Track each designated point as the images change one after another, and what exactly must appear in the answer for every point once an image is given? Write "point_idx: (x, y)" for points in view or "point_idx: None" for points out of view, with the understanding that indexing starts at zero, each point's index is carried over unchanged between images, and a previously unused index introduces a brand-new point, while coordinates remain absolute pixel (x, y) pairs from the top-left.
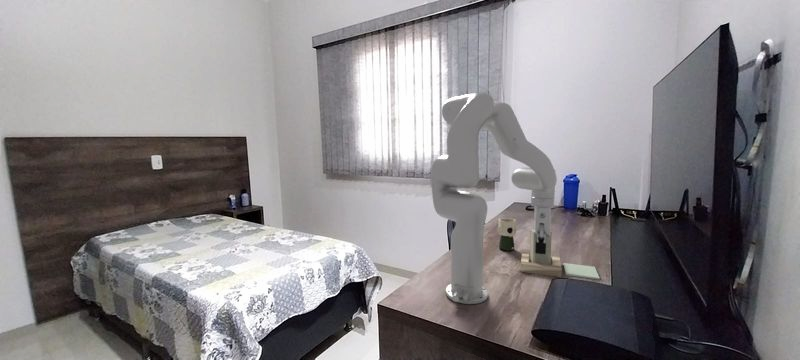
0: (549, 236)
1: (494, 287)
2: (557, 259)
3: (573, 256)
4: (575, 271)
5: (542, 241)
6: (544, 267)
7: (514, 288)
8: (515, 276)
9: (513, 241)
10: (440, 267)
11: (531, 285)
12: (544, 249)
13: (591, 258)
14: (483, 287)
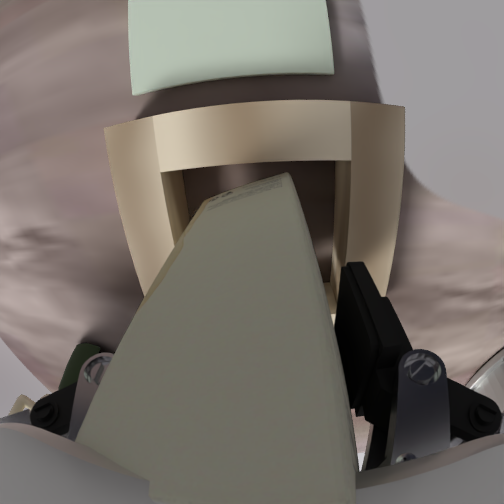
0: (345, 411)
1: (482, 344)
2: (194, 127)
3: (12, 86)
4: (266, 15)
5: (455, 394)
6: (394, 219)
7: (495, 301)
8: (414, 318)
9: (77, 373)
10: (363, 446)
11: (483, 255)
12: (373, 297)
13: (15, 19)
14: (497, 363)
